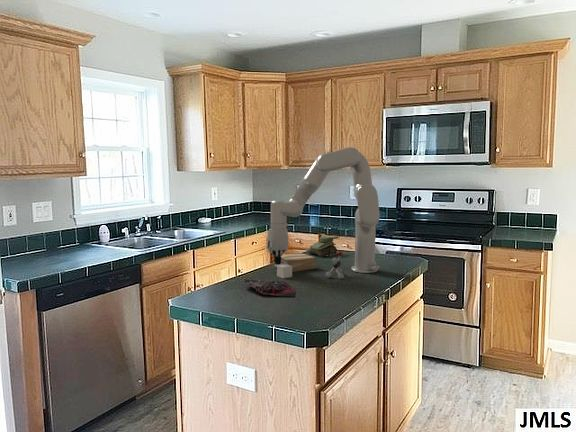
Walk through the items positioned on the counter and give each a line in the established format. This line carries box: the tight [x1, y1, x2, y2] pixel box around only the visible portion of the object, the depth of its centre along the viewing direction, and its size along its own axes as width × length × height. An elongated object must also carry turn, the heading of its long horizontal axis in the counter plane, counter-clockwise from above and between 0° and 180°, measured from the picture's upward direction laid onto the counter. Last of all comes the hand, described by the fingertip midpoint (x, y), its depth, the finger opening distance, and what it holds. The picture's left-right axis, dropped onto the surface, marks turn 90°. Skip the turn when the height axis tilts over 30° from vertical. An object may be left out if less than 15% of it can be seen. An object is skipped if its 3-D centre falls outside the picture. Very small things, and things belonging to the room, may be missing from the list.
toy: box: [307, 235, 340, 258], centre depth 272 cm, size 10×18×10 cm, turn 129°
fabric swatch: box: [244, 279, 296, 298], centre depth 199 cm, size 20×21×3 cm
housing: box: [273, 252, 317, 273], centre depth 239 cm, size 14×15×5 cm
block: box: [276, 264, 293, 279], centre depth 221 cm, size 5×5×5 cm
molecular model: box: [325, 250, 345, 280], centre depth 223 cm, size 8×12×11 cm
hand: (277, 263), depth 233 cm, fingers closed
